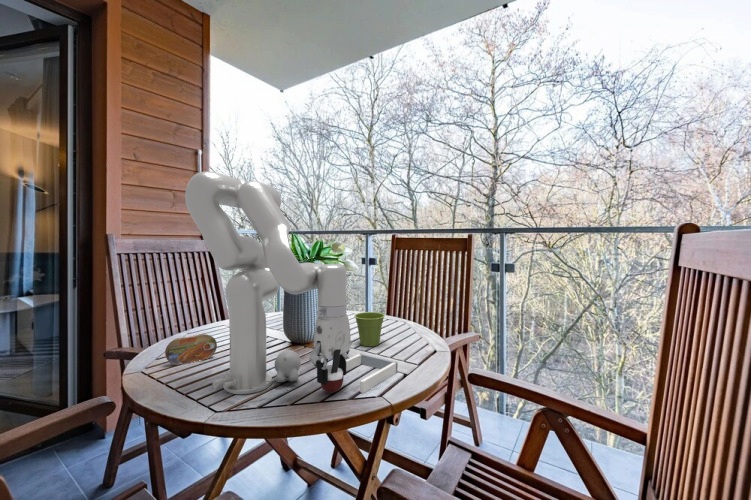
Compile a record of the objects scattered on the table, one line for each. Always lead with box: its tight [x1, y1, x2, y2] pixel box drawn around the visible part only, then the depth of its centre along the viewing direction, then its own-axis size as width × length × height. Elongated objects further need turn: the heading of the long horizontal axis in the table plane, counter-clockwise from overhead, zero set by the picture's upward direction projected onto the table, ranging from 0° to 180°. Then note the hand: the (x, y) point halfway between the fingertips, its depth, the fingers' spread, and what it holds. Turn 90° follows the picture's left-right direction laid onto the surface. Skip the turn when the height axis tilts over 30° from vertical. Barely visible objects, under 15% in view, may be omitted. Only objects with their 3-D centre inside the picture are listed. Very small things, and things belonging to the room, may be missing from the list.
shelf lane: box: [346, 353, 399, 394], centre depth 104 cm, size 18×14×3 cm
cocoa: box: [320, 349, 345, 393], centre depth 92 cm, size 10×6×12 cm, turn 3°
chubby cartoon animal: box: [274, 350, 302, 383], centre depth 102 cm, size 7×12×8 cm, turn 9°
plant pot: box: [353, 311, 386, 347], centre depth 135 cm, size 12×12×11 cm
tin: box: [164, 333, 218, 366], centre depth 115 cm, size 15×3×8 cm, turn 129°
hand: (332, 377), depth 93 cm, fingers closed on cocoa, 6 cm apart
